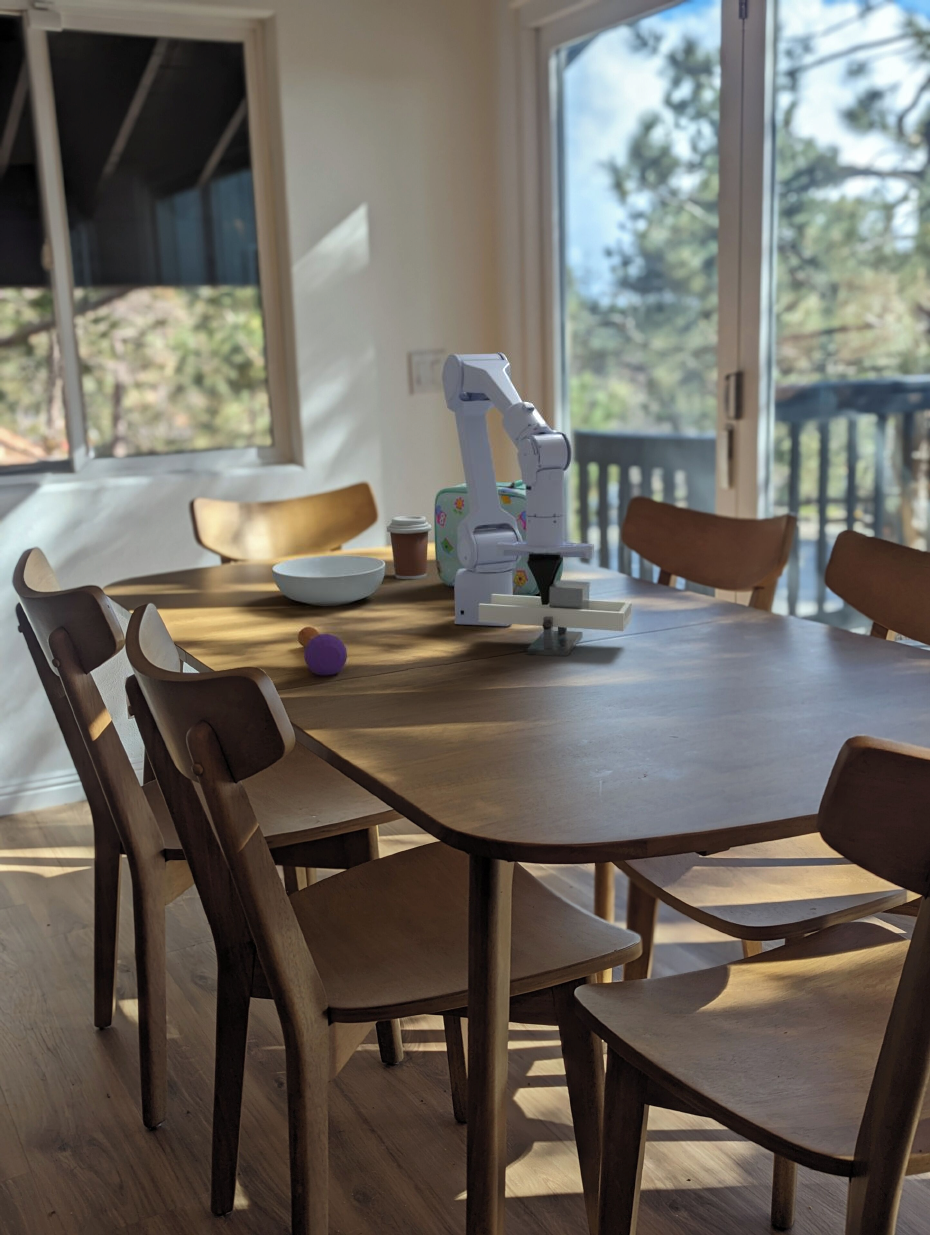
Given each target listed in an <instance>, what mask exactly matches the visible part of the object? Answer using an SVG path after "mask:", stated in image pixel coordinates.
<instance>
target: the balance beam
mask: <svg viewBox="0 0 930 1235" xmlns="http://www.w3.org/2000/svg"><path fill="white" fill-rule="evenodd" d="M632 603H633V601H625V600H624V601H623V600H622V601H621V600H607V599H605V600H604V599H591V598H589V610H582V609H565V608H549V604H548V605H542V602H541V597H540V595H539V596H536V595H534V596H522V595H504V594H492V595H491V604H481V603H480V604H479V622H488V623H504V624H511V625H519V626H520V625H521V626H535V627H538V626H539V627H543V618H544V617H553V628H554V627H555V628H558V627H566V628H568V629H570V628H571V629H584V630H597V631H599V630H600V631H602V630H603V631H614V632H616V631H617V632H624V631H625V629H626V628H627V626H628V624H629V623H630V622H631V620H632V614H633V612H632V610H633V609H632V608H633V604H632Z"/></svg>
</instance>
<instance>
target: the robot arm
mask: <svg viewBox="0 0 930 1235" xmlns="http://www.w3.org/2000/svg"><path fill="white" fill-rule="evenodd" d="M511 373H512V372H511V363H510V362H509V360H508V359H507V357H506V355H505V354H504V353H502V352H495V353H477V354H475V353H474V354H473V353H471V354H467V353H466V354H456V353H451V354H449V355H447V357H446V359H445V361H444V364H443V368H442V373H441V379H442V386H443V394H444V398H445V402H446V408H447V409H448V410H449V411H452V412H453V413H454V416H455V424H456V428H457V436H458V443H459V448H460V454H461V461H462V466H463V467H462V468H463V473H464V479H465V483H466V487H467V493H468V499H469V505H470V513H469V514H468V515H467V516H466V517H465V518H464V519H463V520H462V521H461V523H460V524H459V526H458V527H457V534H458V542H457V552H458V557H459V560H460V562H461V564H462V565H463V566H464V567H465V569H459V570H458V571H457V573H456V577H455V585H454V586H453V588H454V589H453V590H454V617H455V618H454V622H453V624H455V625H467V626H468V625H469V626H470V625H471V626H495V627H509V626H511V625H512V624H504V623H488V622H479V604H480V603H481V604H491V595H492V594H504V595H513V587H512V569H514V568H516V563H518V562H519V561H520V559H521V557H522V556H529V559H528V561H527V564H528V567H529V569H530V570H531V572H532V574H533V576H534V578H535V581H536V583H537V586H538V589H539V593H538V594H539V597H541V602H542V605H548V604H549V602H550V586H551V585H552V584H553V583H554V580H555V577H556V574H557V572H558V570H559V567H560V565H561V563H562V561H563V562H564V558H582V559H583V558H584V559H588V560H589V559H590V560H591V559H593V558H594V557H595V543H583V542H570V541H565V542H564V539H565V471H567V470H568V469H569V468H570V465H571V462H572V455H573V454H572V453H573V452H572V447H571V446H572V445H571V443H570V442H571V441H570V440H569V438H568V437H567V434H566V433H565V432H563V431H557V430H556V429H553V430H552V429H551V427H549V425H548V423H547V422H546V421H545V419H544V418H543V417H542V415H541V414H540V413H539V411H538V410H537V408H536V407H535V405H533V403H532V402H528V401H522V398H521V397H520V395H519V394H518V391H517V390H516V388H515V386H514V384H513V382H512V380H511ZM493 408H497V410H498V411H499V412H500V413H501V415H502V419H501V425H502V428H503V430H504V431H505V433H506V434H507V435H508V437H509V438H510V441H511V442H512V443H513V444H514V446H515V448H516V449H517V450H518V451H517V456H516V457H517V463H518V466H519V469H520V472H521V479H522V481H523V484H525V485H526V541H525V542H523V541H522V537H521V535H520V533H519V531H518V528H517V524H516V520H515V518H514V517H513V516H512V515H510V514H509V513H507V512H506V511H504V510H503V509H502V508H501V507H500V502H499V496H498V489H497V483H496V482H497V478H496V471H495V466H494V465H495V464H494V460H493V454H492V446H491V442H490V435H489V434H490V433H489V430H488V428H489V427H488V423H487V422H488V421H487V413H488V411H489V410H491V409H493ZM488 528H497V529H489V530H479V531H474V530H478V529H488ZM534 552H535V553H534ZM546 552H557V553H546Z"/></svg>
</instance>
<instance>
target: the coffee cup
mask: <svg viewBox="0 0 930 1235" xmlns="http://www.w3.org/2000/svg"><path fill="white" fill-rule="evenodd" d="M429 531H432V525H431V524H430V523H429V522H428V521H427V518H426V516H423V515H401V516H400V515H399V516H395V517H392V518H391V523H390V524H389V525H388V526H386V532H388V533H390V542H391V543H390V544H391V550H392V560H393V567H394V575H395V577H396V578H395V579H399V580H419V579H420V580H421V579H424V578H426V577H427V570H428V569H427V564H428V546H429V545H428V543H429V541H428V540H429Z"/></svg>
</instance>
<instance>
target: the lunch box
mask: <svg viewBox="0 0 930 1235" xmlns="http://www.w3.org/2000/svg"><path fill="white" fill-rule="evenodd" d="M496 483H497V489H498V496H499V502H500V507H501V508H502V509H503V510H504V511H506V512H507V513H509V514H510V515H512V516H513V517H514V518H515V520H516V524H517V528H518V531H519V533H520V535H521V537H522V541H523V542H525V541H526V485H525V484H523V481H522V478H521V479H519V480H517V481H516V480H515V481H512V482H501V481H500V482H499V481H496ZM433 511H434V513H433V514H434V517H433V519H434V522H433V523H434V531H433V532H434V554H435V555H434V557H435V567H436V571H437V575H438V577H439V579H440V580H441V581H442V583H444V584H445V585H446V586H448V587H449V586H450V587H454V585H455V577H456V573H457V571H458V570H459V569H465V567H464V566H463V565H462V564H461V562H460V560H459V557H458V552H457V542H458V534H457V527H458V526H459V524H460V523H461V521H462V520H463V519H464V518H465V517H466V516H467V515H468V514H469V513H470V505H469V499H468V493H467V487H466V482H463V483H461V484H458V485H455V486H449V487H444V488H442V489H440V490H439V491H437V493H436V495H435V499H434V509H433ZM489 529H497V528H488V529H478V530H474V531H479V530H489ZM564 542H566V540H565V538H564ZM534 553H535V552H534ZM546 553H557V552H546ZM528 559H529V556H522V557H521V559H520V561H519V562H518V563H516V568H514V569H512V587H513V595H522V596H536V595H538V594H540V593H539V589H538V586H537V583H536V581H535V578H534V576H533V574H532V572H531V570H530V569H529V567H528V564H527V561H528ZM563 569H564V560H563V561H562V563H561V565H560V567H559V570H558V572H557V574H556V577H555V580H554V583H555V582H556V581H557V580H561V579H562V575H563ZM554 583H553V584H554Z"/></svg>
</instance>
